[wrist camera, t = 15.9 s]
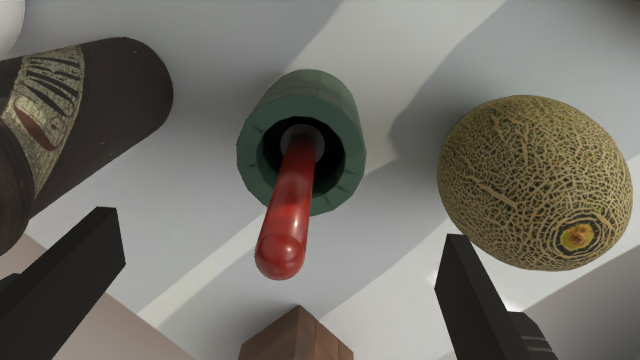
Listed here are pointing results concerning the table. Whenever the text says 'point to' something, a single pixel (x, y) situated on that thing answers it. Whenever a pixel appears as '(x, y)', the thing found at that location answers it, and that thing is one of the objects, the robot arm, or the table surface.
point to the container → (72, 120)
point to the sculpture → (10, 24)
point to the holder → (295, 340)
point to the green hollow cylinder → (341, 138)
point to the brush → (291, 200)
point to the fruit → (535, 183)
